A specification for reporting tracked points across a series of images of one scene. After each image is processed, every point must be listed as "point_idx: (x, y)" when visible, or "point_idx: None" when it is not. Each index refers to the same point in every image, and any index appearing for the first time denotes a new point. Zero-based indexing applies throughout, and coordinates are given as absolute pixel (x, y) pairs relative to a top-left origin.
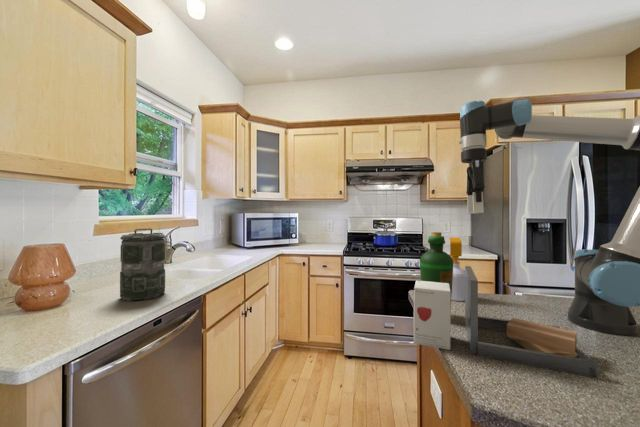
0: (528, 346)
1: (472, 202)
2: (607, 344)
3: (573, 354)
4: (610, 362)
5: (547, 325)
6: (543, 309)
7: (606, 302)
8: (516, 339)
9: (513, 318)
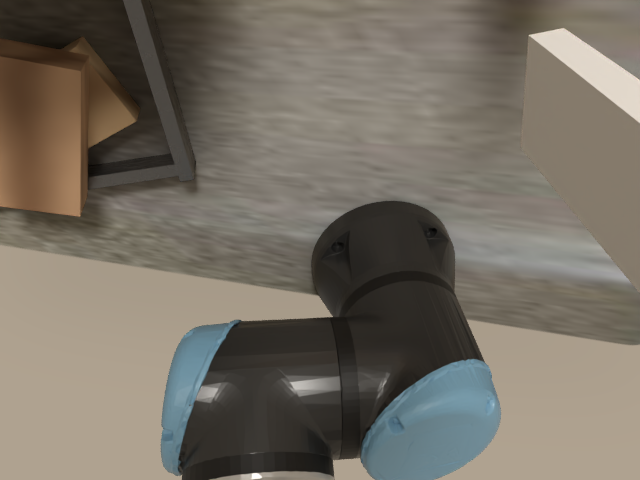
0: None
1: (616, 192)
2: (221, 245)
3: None
4: (93, 231)
5: (181, 154)
6: (481, 151)
7: (338, 316)
8: None
9: (72, 73)
